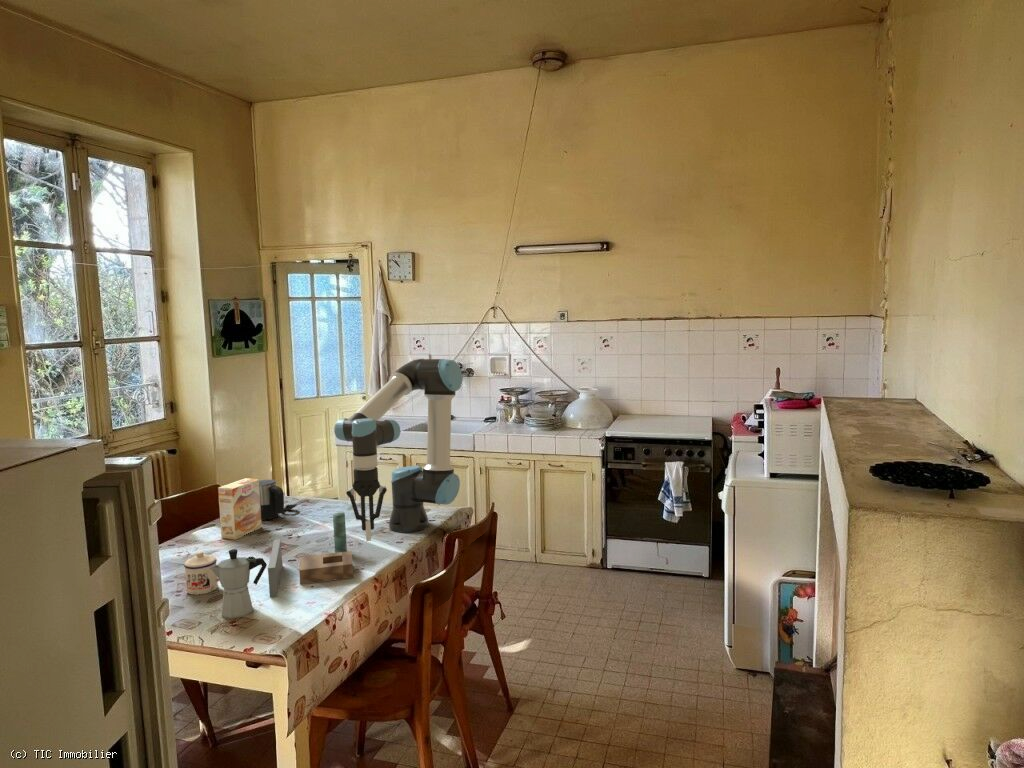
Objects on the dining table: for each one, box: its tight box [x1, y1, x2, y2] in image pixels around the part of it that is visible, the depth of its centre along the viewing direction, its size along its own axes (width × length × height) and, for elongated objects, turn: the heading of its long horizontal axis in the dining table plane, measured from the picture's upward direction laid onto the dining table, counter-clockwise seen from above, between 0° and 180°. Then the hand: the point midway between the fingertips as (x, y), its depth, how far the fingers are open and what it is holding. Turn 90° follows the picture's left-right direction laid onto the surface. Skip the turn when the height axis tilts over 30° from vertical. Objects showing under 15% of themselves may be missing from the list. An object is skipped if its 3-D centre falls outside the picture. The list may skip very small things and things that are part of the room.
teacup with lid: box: [183, 551, 220, 596], centre depth 209 cm, size 12×9×12 cm
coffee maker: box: [209, 548, 268, 620], centre depth 192 cm, size 15×9×18 cm, turn 114°
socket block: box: [298, 550, 354, 585], centre depth 218 cm, size 16×12×4 cm
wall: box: [267, 538, 283, 599], centre depth 214 cm, size 2×26×9 cm, turn 15°
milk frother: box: [259, 479, 298, 521], centre depth 284 cm, size 14×16×15 cm
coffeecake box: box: [217, 477, 263, 541], centre depth 261 cm, size 15×7×20 cm, turn 161°
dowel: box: [332, 512, 348, 553], centre depth 236 cm, size 4×4×14 cm
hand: (368, 539), depth 221 cm, fingers closed
